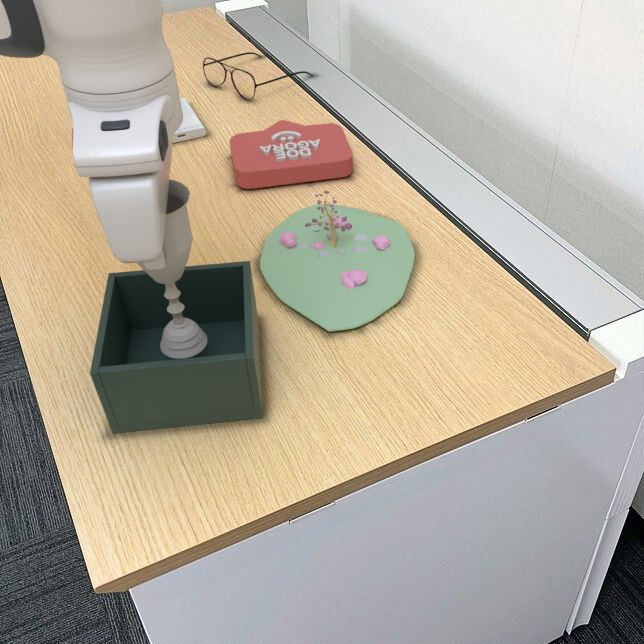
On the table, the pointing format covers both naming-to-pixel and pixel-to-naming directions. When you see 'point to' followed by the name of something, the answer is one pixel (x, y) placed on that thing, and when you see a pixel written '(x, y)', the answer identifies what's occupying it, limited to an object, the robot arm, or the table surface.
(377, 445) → the table surface
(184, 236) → the chalice
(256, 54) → the glasses
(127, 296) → the tub
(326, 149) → the plaque
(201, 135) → the hard drive
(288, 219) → the plant
